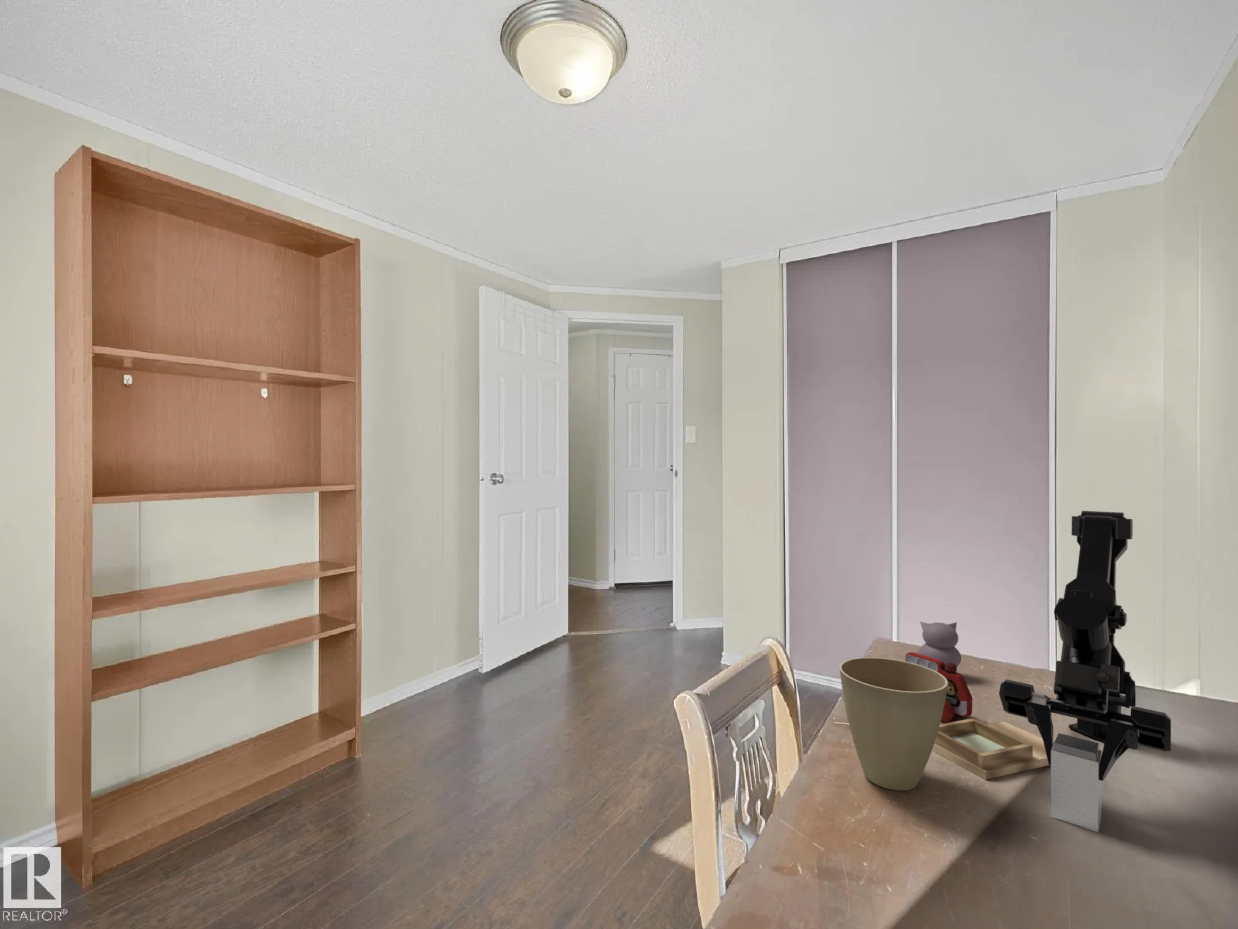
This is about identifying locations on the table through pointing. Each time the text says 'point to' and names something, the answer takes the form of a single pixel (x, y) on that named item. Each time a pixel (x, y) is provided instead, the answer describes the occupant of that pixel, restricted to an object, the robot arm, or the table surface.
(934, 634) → the cat figurine
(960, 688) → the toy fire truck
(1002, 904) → the table surface
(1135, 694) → the robot arm
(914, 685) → the plant pot
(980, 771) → the wooden tray
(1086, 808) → the grey lidded container
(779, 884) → the table surface
